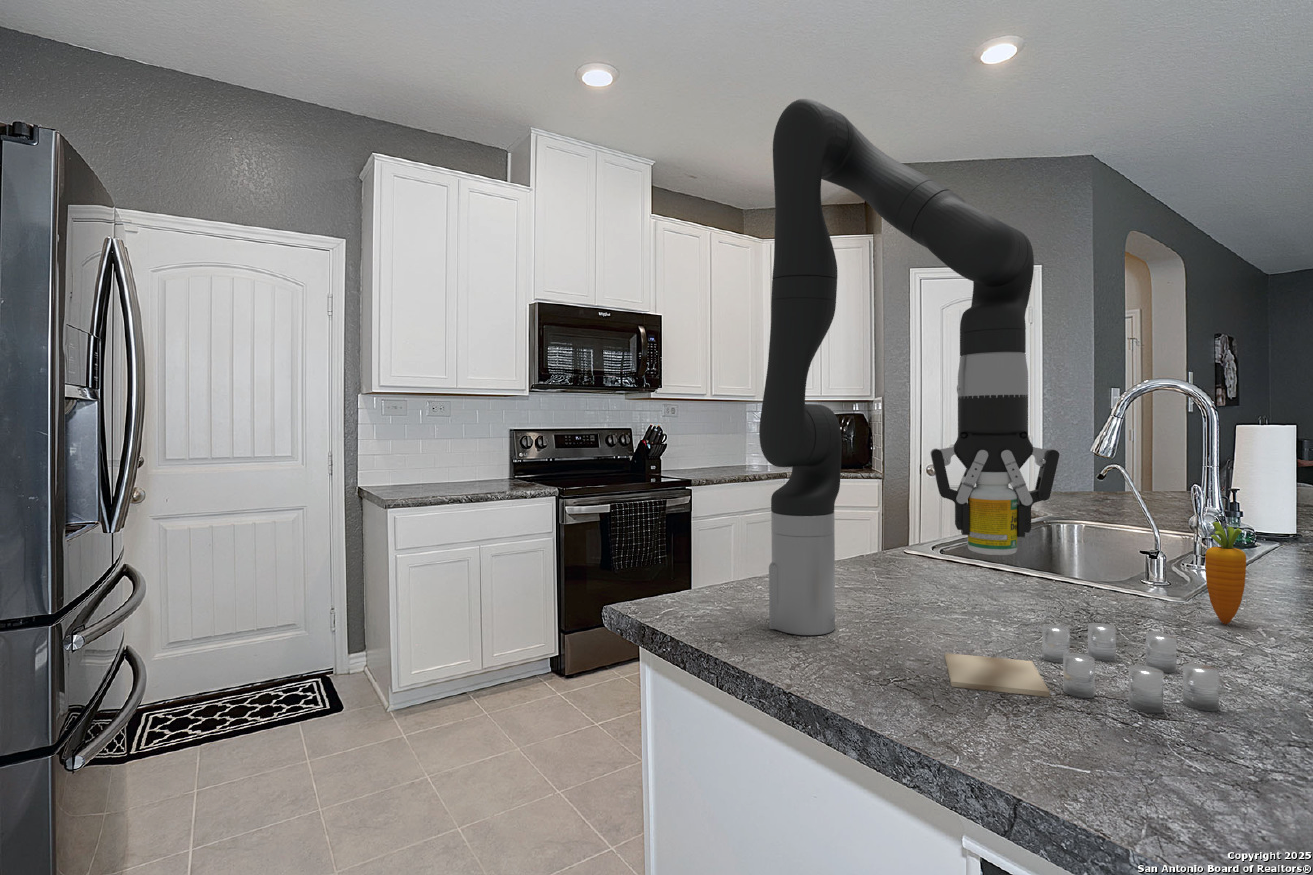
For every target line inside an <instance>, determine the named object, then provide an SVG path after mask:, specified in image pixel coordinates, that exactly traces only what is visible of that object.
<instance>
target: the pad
mask: <svg viewBox="0 0 1313 875" xmlns="http://www.w3.org/2000/svg"><path fill="white" fill-rule="evenodd" d="M944 659H945V664H946V669H947V674H948V678H949V681H950V686H951V687H953V688H961V689H970V690H980V691H990V692H999V693H1005V694H1006V693H1009V694H1019V695H1026V696H1028V695H1029V696H1037V697H1046V698H1050V697H1051V696H1050V694H1051V692H1050V689H1048V688H1049V687H1047V685H1046V683H1045V681H1044V680H1043V678H1042V676H1041V674H1040V673H1039V671H1038V669H1037V667H1036V665H1035V664H1034V662H1033V660H1023V659H1012V658H1005V657H1003V658H1002V657H991V656H980V655H972V654H971V655H969V654H959V653H947V652H945V653H944Z"/></svg>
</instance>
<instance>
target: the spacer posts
mask: <svg viewBox="0 0 1313 875" xmlns="http://www.w3.org/2000/svg"><path fill="white" fill-rule="evenodd" d="M1041 626H1042V629H1041V635H1042V637H1041V639H1042V641H1041V642H1042V644H1041V649H1042V650H1041V656H1042V659H1044V660H1045V661H1047V662H1051V663H1056V664H1057V663H1058V664H1060V663H1061V664H1062V668H1063V669H1062V670H1063V671H1062V674H1063V676H1062V680H1063V681H1062V682H1063V684H1062V685H1063V688H1062V689H1063V692H1064V693H1065V694H1066V695H1070V696H1071V697H1075V698H1081V699H1093V698H1094V697H1095V695H1096V693H1095V688H1096V685H1095V683H1096V678H1095V677H1096V674H1095V673H1096V668H1095V666H1096V660H1097V661H1101V662H1115V661H1116V660H1117V654H1116V653H1117V644H1116V643H1117V627H1115V626H1114V625H1112V624H1109V623H1108V624H1107V623H1104V622H1103V623H1100V622H1090V623H1088V624H1087V654H1084V653H1080V652H1071V651H1070V648H1071V647H1070V644H1071V642H1070V640H1071V639H1070V633H1071V632H1070V630H1071V629H1070V628H1069V627H1067V626H1064V625H1059V624H1052V623H1050V624H1049V623H1048V624H1043V625H1041ZM1176 672H1177V637H1176V636H1174V635H1172V634H1169V633H1165V632H1159V631H1148V632H1146V633H1145V665H1144V664H1143V665H1142V664H1131V665H1129V666H1128V706H1129V707H1130V708H1131V709H1134V710H1135V711H1139V712H1142V713H1147V714H1161V713H1164V676H1165V675H1164V673H1165V674H1166V673H1167V674H1173V673H1176ZM1219 691H1220V670H1219V669H1217V668H1215V667H1213V666H1210V665H1206V664H1202V663H1197V662H1196V663H1195V662H1187V663H1184V664H1183V665H1182V704H1184V705H1186V706H1187V707H1189V708H1191V709H1195V710H1199V711H1204V712H1217V711H1219V710H1220V704H1219V703H1220V692H1219Z"/></svg>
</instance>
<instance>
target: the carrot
mask: <svg viewBox="0 0 1313 875" xmlns="http://www.w3.org/2000/svg"><path fill="white" fill-rule="evenodd" d="M1212 526H1213V528H1214V530H1215V531H1214V534H1211V535H1210V537H1211V538H1212V539H1213V541H1215V542H1216V543H1217V544H1218V545H1219V546H1212V547H1209V548H1207V550H1206V551H1205V555H1204V559H1205V560H1204V562H1205V563H1204V564H1205V581H1206V588H1207V593H1208V597H1209V600H1210V604H1211V607H1212V608H1213V611H1214V614H1216V617H1217V618H1218V619H1219V621H1220V622H1221V624H1223V625H1225V626H1226V625H1228V624H1229V623H1231V622H1232V620H1233V619H1234V617H1235V616H1236V615H1237V613H1238V610H1239V608H1240V606H1241V603H1242V600H1243V595H1244V592H1245V586H1246V574H1247V554H1246V553H1245V551H1244V550H1242V549H1240V548H1236V547H1234V544H1235V543H1236V541H1237V539H1238V537H1239V535H1241V533H1242V532H1243V530H1242V529H1240V528H1239V527H1238V528H1236V529H1235V528H1234V527H1232V526H1227V527H1226V529H1227V530H1226V531H1227V532H1226V531H1225V529H1224V527H1223V526H1222V524H1221V523H1220V522H1219V521H1214V522H1213V523H1212ZM1227 535H1228V536H1227Z"/></svg>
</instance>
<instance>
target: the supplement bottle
mask: <svg viewBox="0 0 1313 875" xmlns="http://www.w3.org/2000/svg"><path fill="white" fill-rule="evenodd" d="M1010 483H1011V479H1010V476H1009V474H1008V472H980V475H979V477H978V479H977V481H976V483H975V486H974V487H973V489H972V491H971V493H970V495H969V497H968V500H967V503H968V504H969V535H967V548H968V550H969V551H971V552H974V553H977V554H981V555H988V556H989V555H990V556H991V555H992V556H993V555H994V556H1008V555H1013V554H1015V553H1016V552H1018V537H1017V512H1018V511H1017V507H1018V497H1017V493H1016V492H1015V491H1014V490H1013V488H1012V487H1009V485H1010Z"/></svg>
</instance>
